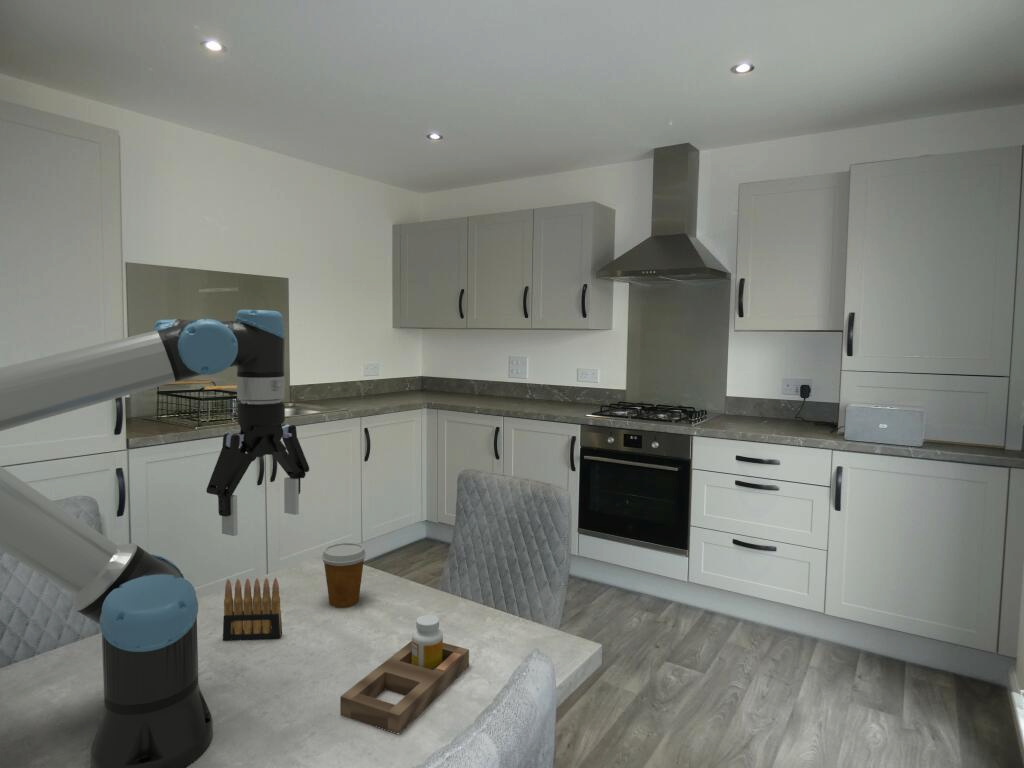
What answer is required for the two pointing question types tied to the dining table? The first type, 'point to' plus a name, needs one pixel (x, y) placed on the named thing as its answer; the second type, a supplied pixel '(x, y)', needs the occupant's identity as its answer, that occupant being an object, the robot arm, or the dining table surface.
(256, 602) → the ammunition clip
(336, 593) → the disposable coffee cup
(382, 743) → the dining table surface
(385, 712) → the rack
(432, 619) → the supplement bottle
